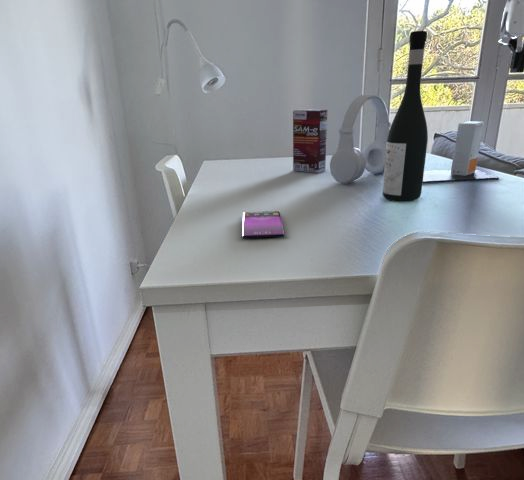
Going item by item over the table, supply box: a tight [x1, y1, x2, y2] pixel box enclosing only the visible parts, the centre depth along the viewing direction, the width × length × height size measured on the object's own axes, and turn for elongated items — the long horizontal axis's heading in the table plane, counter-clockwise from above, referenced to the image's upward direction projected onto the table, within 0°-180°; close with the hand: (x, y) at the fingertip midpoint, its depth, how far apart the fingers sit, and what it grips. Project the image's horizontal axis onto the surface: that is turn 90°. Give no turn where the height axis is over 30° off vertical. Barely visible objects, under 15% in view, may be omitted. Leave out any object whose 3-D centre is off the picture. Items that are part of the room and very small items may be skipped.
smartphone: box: [241, 210, 285, 239], centre depth 85 cm, size 7×15×1 cm, turn 1°
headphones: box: [329, 94, 392, 185], centre depth 119 cm, size 20×8×19 cm, turn 138°
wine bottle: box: [382, 30, 429, 203], centre depth 94 cm, size 8×8×30 cm
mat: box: [422, 169, 500, 185], centre depth 121 cm, size 22×14×1 cm, turn 93°
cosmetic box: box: [450, 120, 485, 176], centre depth 118 cm, size 6×4×12 cm
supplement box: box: [292, 108, 328, 174], centre depth 133 cm, size 9×5×16 cm, turn 55°
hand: (516, 72), depth 110 cm, fingers closed
